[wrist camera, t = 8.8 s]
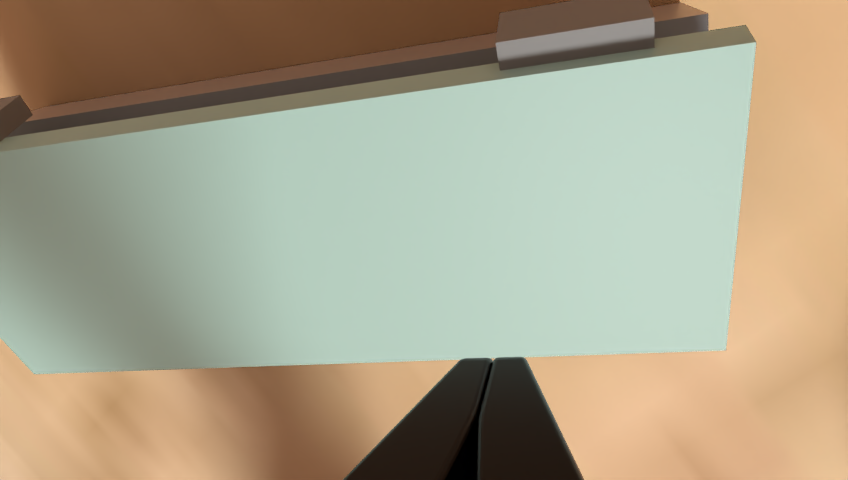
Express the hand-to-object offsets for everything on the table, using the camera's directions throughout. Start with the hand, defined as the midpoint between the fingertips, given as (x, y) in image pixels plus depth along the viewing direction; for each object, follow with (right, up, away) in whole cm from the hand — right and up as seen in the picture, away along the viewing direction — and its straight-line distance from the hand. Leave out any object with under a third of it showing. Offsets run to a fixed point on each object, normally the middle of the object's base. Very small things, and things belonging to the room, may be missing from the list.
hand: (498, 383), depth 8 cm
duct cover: (-5, +3, +10) cm, 11 cm away
